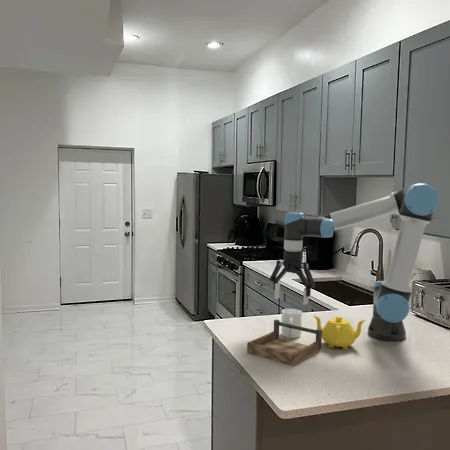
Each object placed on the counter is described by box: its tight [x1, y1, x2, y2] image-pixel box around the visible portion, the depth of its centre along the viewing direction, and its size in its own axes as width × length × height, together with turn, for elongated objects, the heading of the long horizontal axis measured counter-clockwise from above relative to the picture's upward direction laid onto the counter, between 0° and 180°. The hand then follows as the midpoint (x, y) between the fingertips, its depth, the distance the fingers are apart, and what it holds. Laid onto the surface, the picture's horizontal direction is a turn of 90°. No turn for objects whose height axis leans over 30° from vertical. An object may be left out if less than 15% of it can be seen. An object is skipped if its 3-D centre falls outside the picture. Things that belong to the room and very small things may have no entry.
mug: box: [280, 308, 303, 339], centre depth 190 cm, size 12×8×10 cm
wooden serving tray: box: [246, 319, 323, 367], centre depth 173 cm, size 20×20×8 cm
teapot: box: [313, 315, 366, 351], centre depth 180 cm, size 20×15×12 cm
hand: (291, 301), depth 190 cm, fingers open, 13 cm apart
